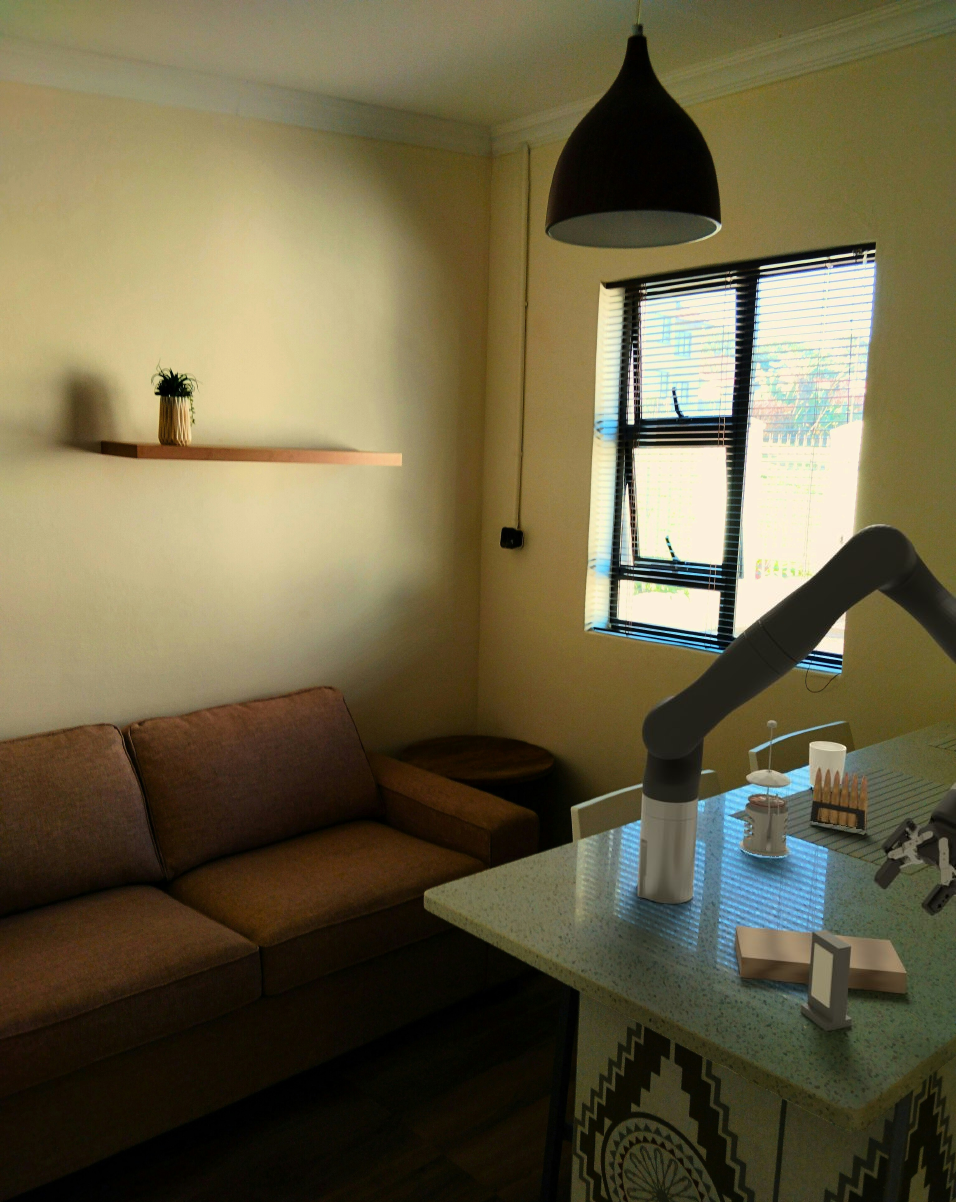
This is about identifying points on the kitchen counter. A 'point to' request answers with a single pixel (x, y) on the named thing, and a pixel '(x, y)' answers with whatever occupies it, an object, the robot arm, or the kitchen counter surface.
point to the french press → (766, 813)
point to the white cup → (826, 760)
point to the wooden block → (791, 957)
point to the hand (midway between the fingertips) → (902, 898)
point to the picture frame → (828, 982)
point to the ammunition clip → (839, 801)
